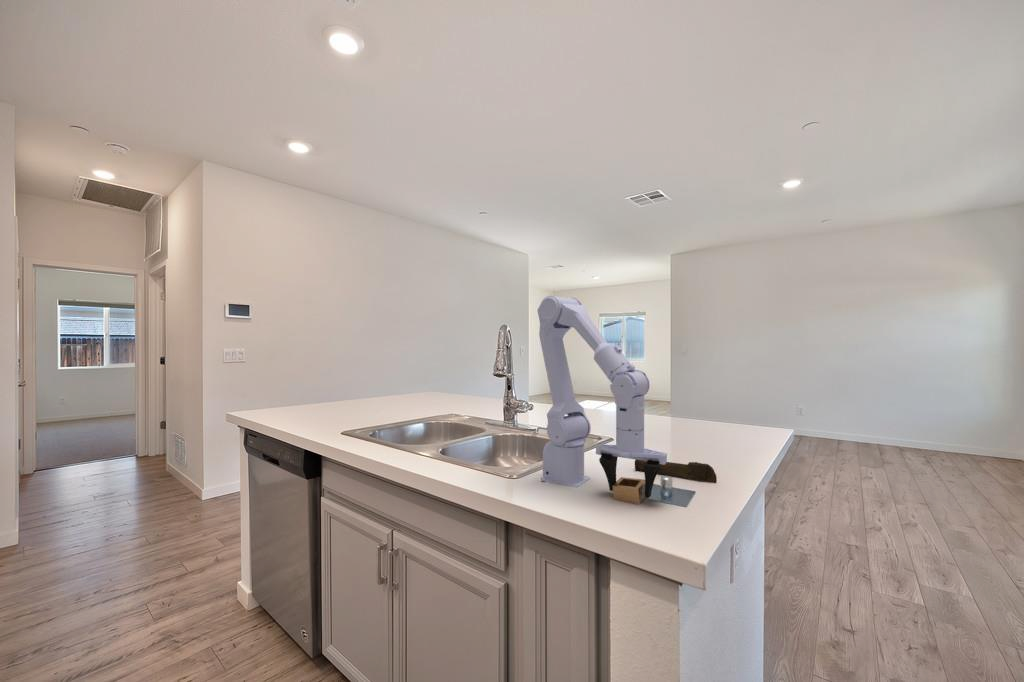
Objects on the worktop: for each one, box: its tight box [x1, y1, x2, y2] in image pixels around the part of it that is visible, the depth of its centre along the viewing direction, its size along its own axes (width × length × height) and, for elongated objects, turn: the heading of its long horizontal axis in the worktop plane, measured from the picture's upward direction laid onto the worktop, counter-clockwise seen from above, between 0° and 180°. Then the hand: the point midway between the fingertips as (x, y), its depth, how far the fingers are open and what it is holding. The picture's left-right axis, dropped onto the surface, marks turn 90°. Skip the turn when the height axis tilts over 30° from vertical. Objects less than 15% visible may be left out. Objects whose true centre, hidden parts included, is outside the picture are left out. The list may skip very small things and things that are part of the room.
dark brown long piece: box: [634, 459, 717, 484], centre depth 105 cm, size 19×4×5 cm, turn 53°
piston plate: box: [643, 475, 696, 508], centre depth 92 cm, size 10×10×4 cm
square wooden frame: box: [612, 476, 645, 505], centre depth 91 cm, size 5×5×3 cm
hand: (630, 493), depth 91 cm, fingers open, 7 cm apart
